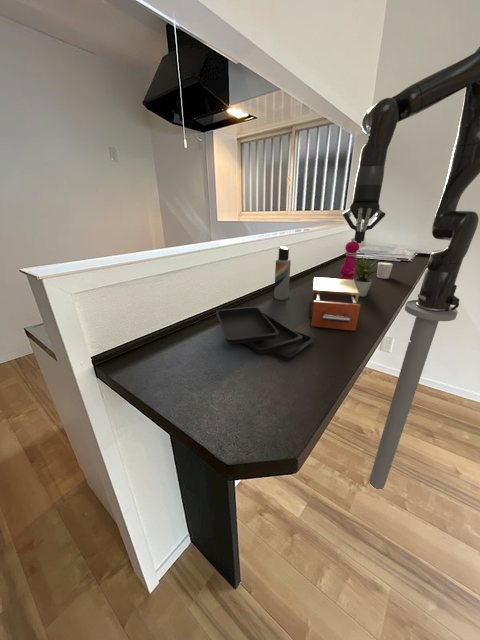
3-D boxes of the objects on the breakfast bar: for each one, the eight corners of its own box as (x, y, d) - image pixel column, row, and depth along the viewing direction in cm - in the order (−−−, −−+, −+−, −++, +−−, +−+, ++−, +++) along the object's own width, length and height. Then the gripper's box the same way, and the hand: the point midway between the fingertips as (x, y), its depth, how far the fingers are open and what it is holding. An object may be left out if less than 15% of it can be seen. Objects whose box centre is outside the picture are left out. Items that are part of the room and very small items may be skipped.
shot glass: (380, 279, 131) (383, 265, 129) (372, 275, 138) (375, 262, 135) (393, 278, 132) (396, 264, 129) (385, 275, 138) (388, 261, 135)
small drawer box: (353, 322, 85) (359, 293, 81) (309, 317, 88) (312, 289, 84) (349, 305, 98) (353, 279, 95) (311, 302, 102) (314, 277, 98)
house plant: (331, 291, 114) (337, 252, 108) (356, 287, 119) (362, 250, 113) (356, 301, 102) (364, 259, 96) (382, 296, 107) (391, 256, 101)
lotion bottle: (281, 294, 111) (283, 245, 102) (291, 298, 106) (294, 247, 98) (271, 297, 107) (273, 247, 99) (281, 301, 103) (284, 249, 95)
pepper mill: (345, 277, 135) (351, 236, 127) (357, 280, 130) (365, 238, 122) (336, 279, 131) (342, 237, 123) (348, 282, 126) (356, 239, 118)
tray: (320, 336, 76) (322, 319, 74) (290, 378, 58) (291, 358, 56) (233, 315, 90) (233, 301, 88) (187, 344, 72) (185, 327, 70)
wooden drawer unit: (357, 338, 73) (362, 311, 69) (310, 333, 76) (313, 307, 73) (350, 312, 90) (354, 290, 86) (312, 309, 93) (314, 287, 90)
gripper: (346, 183, 78) (337, 244, 85) (395, 182, 75) (382, 245, 82) (344, 185, 85) (336, 241, 92) (389, 184, 81) (378, 242, 88)
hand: (358, 242), depth 87 cm, fingers closed
